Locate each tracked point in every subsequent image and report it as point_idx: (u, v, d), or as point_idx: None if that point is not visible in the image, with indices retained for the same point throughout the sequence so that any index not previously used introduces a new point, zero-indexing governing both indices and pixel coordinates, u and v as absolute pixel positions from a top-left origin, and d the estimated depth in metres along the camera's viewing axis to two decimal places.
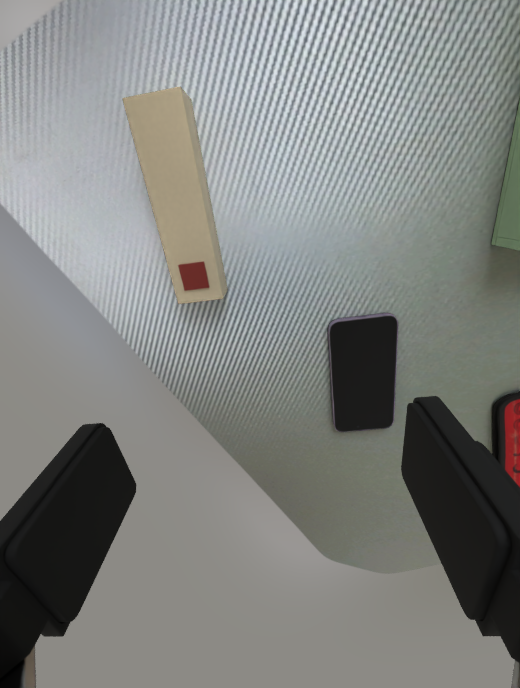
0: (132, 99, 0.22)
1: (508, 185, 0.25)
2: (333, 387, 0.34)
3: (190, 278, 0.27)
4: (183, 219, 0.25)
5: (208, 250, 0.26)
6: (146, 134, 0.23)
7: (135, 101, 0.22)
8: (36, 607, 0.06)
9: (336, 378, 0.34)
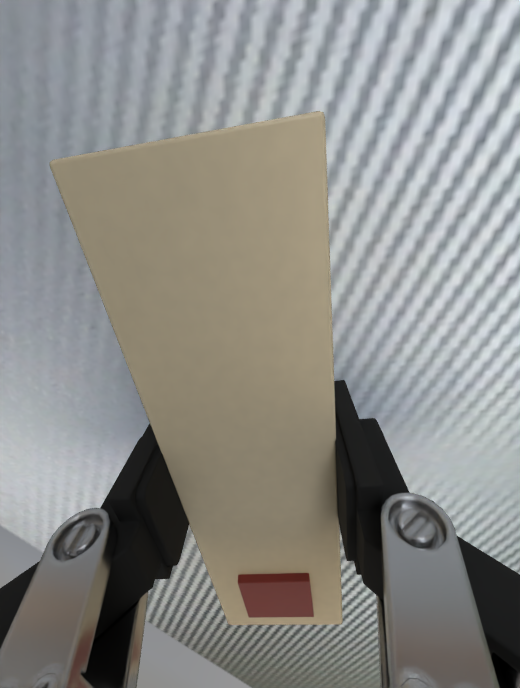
0: (95, 166, 0.05)
1: None
2: None
3: (267, 603, 0.10)
4: (264, 502, 0.08)
5: (326, 557, 0.09)
6: (154, 293, 0.06)
7: (108, 175, 0.05)
8: (154, 548, 0.07)
9: None
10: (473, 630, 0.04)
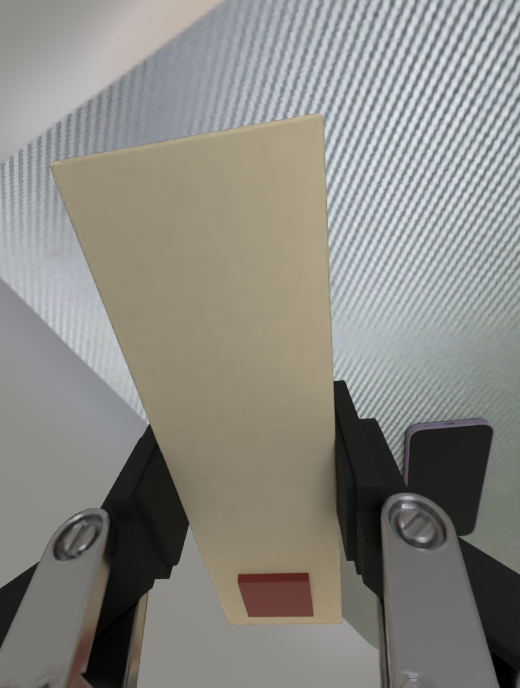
0: (95, 168, 0.05)
1: None
2: None
3: (267, 602, 0.10)
4: (263, 502, 0.08)
5: (325, 557, 0.09)
6: (154, 294, 0.06)
7: (107, 177, 0.05)
8: (154, 548, 0.07)
9: (412, 486, 0.29)
10: (473, 630, 0.04)
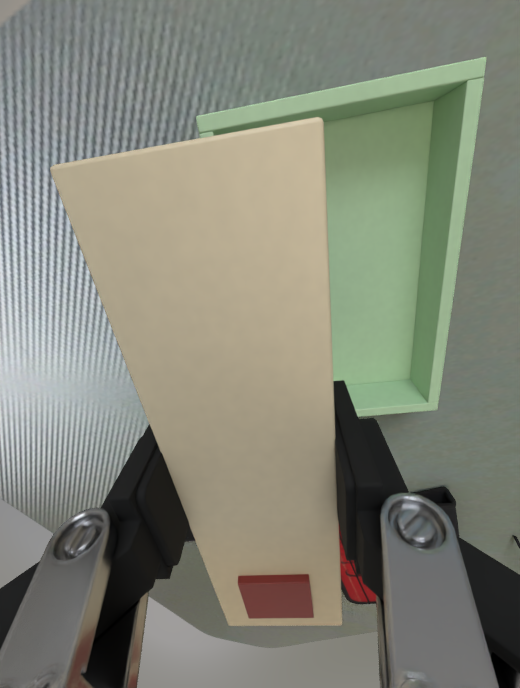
0: (95, 171, 0.05)
1: None
2: None
3: (267, 604, 0.10)
4: (263, 504, 0.08)
5: (325, 558, 0.09)
6: (154, 297, 0.06)
7: (108, 180, 0.05)
8: (154, 548, 0.07)
9: None
10: (473, 630, 0.04)
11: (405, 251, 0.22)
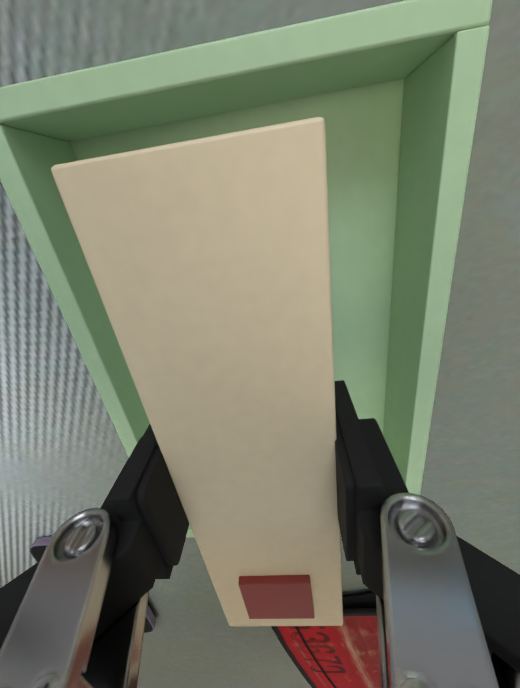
0: (96, 172, 0.05)
1: None
2: None
3: (268, 604, 0.10)
4: (264, 504, 0.08)
5: (326, 559, 0.09)
6: (154, 297, 0.06)
7: (109, 180, 0.05)
8: (154, 548, 0.07)
9: None
10: (472, 629, 0.04)
11: (367, 309, 0.15)
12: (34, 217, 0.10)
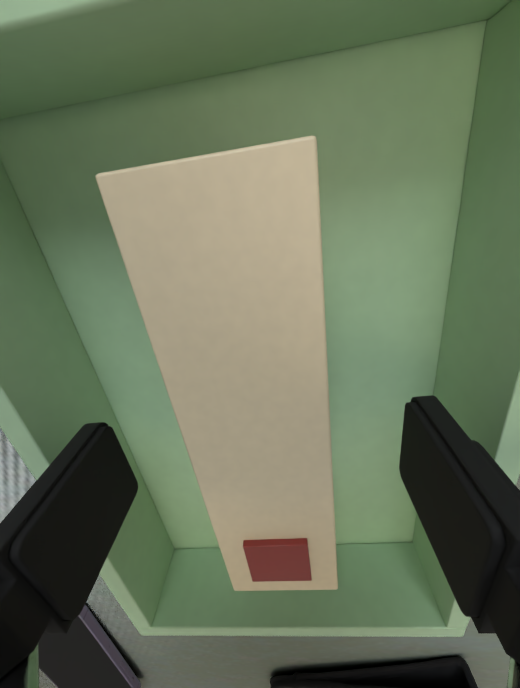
0: (132, 179, 0.06)
1: None
2: None
3: (269, 566, 0.11)
4: (267, 469, 0.09)
5: (322, 522, 0.10)
6: (176, 283, 0.07)
7: (142, 186, 0.06)
8: (40, 605, 0.06)
9: None
10: None
11: (407, 354, 0.11)
12: None
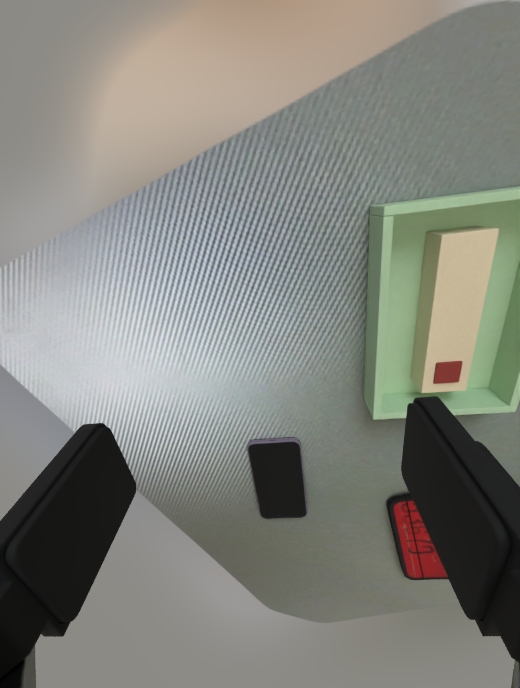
0: (451, 236, 0.25)
1: (366, 366, 0.34)
2: (255, 487, 0.43)
3: (444, 374, 0.30)
4: (456, 327, 0.28)
5: (469, 352, 0.29)
6: (451, 262, 0.25)
7: (453, 238, 0.25)
8: (36, 608, 0.06)
9: (257, 481, 0.42)
10: None
11: (499, 293, 0.29)
12: (389, 249, 0.25)
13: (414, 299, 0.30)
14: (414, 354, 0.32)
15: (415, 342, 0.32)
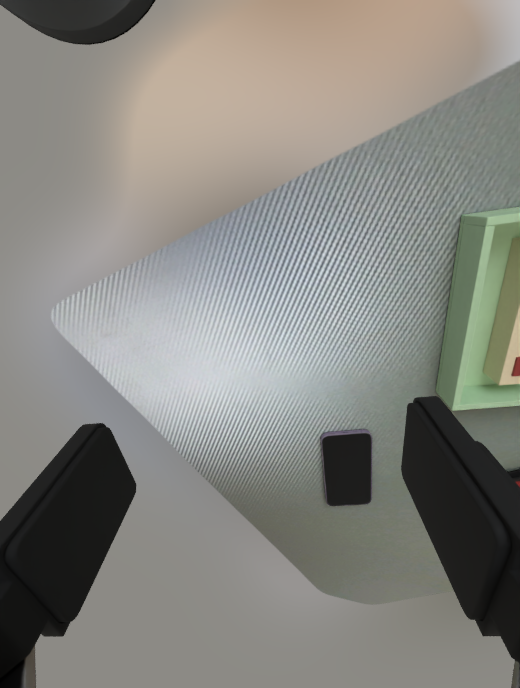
0: None
1: (443, 361, 0.36)
2: (325, 476, 0.46)
3: None
4: None
5: None
6: None
7: None
8: (36, 608, 0.06)
9: (327, 471, 0.45)
10: None
11: None
12: (487, 255, 0.27)
13: (494, 299, 0.33)
14: (490, 349, 0.35)
15: (492, 338, 0.34)
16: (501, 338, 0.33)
